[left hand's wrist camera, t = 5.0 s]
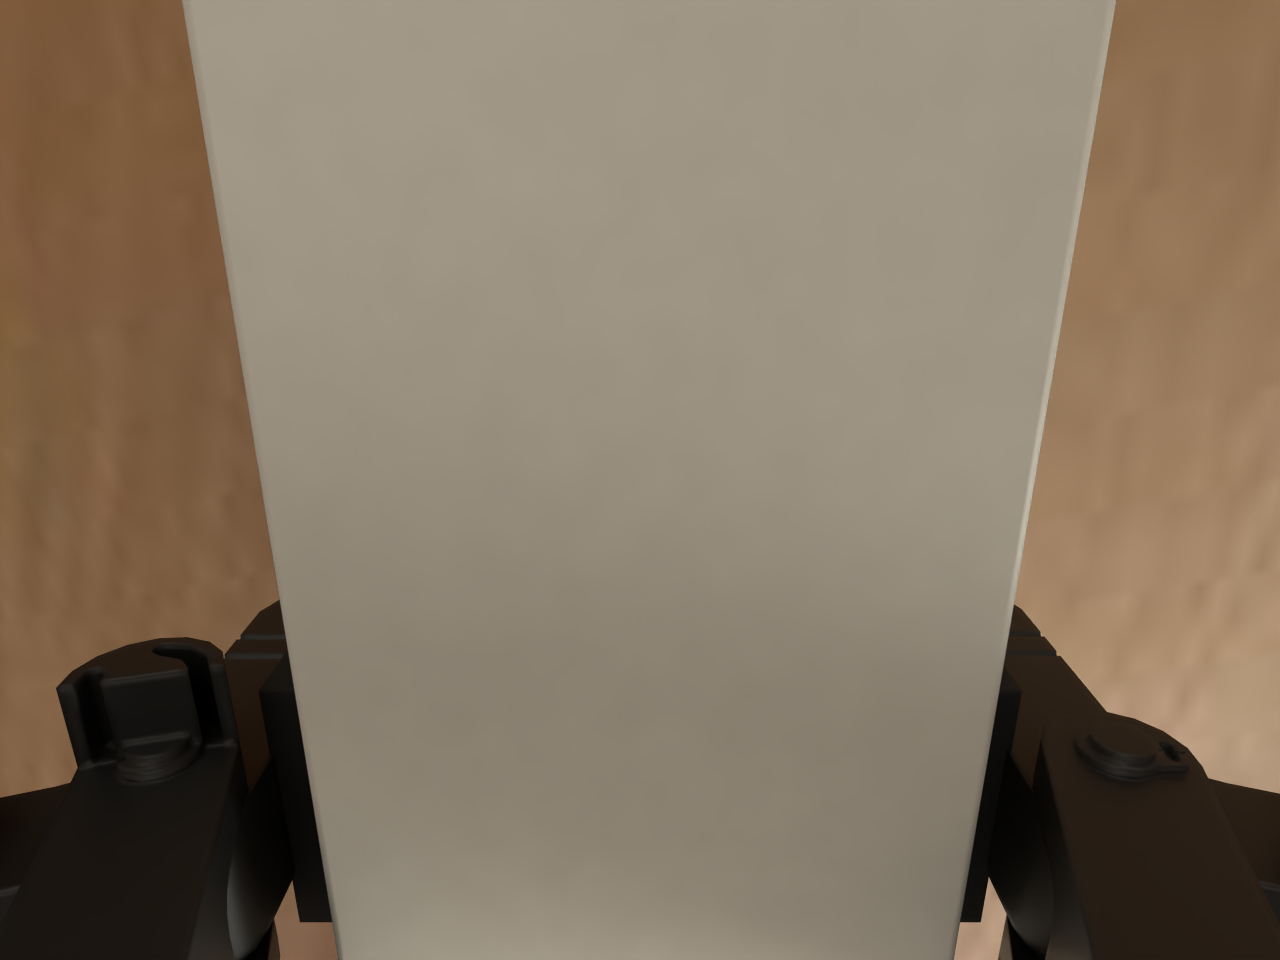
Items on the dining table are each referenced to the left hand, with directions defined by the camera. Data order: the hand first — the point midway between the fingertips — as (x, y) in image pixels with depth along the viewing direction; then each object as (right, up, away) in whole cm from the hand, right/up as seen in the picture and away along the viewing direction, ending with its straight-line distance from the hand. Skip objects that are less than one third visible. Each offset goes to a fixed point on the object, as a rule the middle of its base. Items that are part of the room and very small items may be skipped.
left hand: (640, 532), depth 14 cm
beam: (0, -26, +11) cm, 28 cm away
